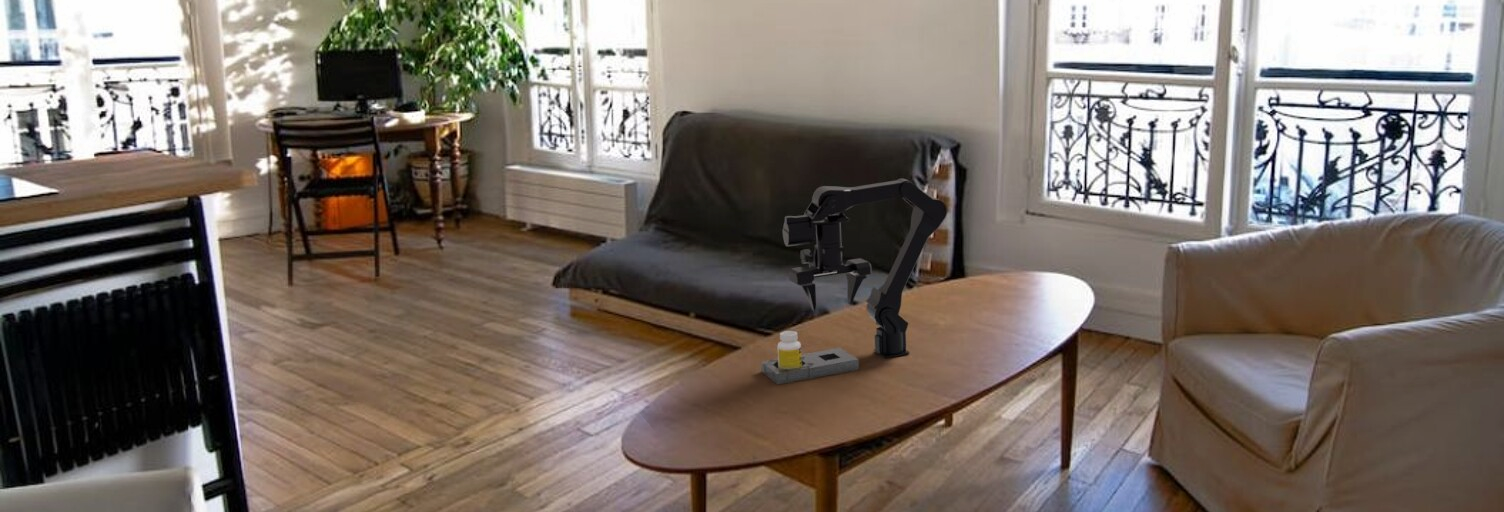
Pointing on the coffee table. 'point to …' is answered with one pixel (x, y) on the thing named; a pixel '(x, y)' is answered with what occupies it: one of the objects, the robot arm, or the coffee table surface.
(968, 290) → the coffee table surface
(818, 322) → the coffee table surface
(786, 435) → the coffee table surface
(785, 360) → the supplement bottle
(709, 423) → the coffee table surface
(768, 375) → the socket plate
